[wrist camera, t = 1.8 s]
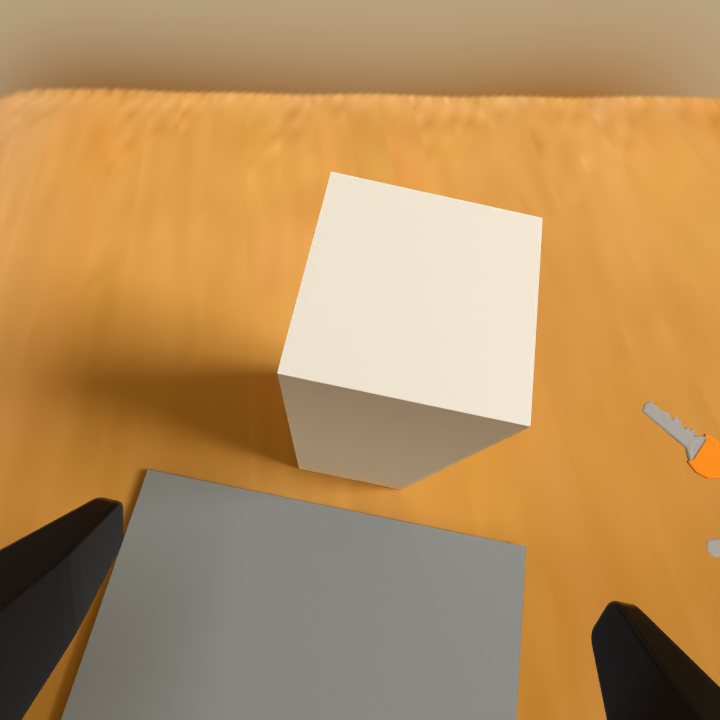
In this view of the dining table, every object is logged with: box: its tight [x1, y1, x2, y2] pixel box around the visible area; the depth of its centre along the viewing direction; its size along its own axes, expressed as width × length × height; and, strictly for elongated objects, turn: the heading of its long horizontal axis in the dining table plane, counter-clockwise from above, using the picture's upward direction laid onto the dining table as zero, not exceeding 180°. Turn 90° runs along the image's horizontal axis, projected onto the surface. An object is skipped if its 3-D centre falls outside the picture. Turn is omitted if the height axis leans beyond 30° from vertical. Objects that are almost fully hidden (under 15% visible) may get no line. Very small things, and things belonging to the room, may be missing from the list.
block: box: [277, 172, 543, 490], centre depth 15 cm, size 4×4×13 cm
